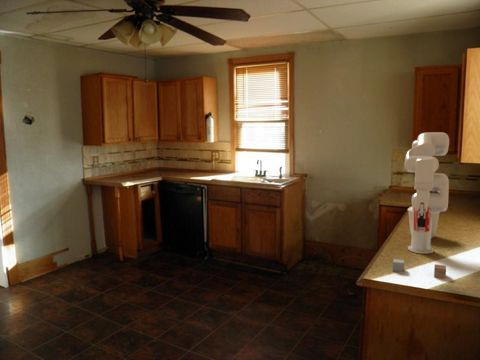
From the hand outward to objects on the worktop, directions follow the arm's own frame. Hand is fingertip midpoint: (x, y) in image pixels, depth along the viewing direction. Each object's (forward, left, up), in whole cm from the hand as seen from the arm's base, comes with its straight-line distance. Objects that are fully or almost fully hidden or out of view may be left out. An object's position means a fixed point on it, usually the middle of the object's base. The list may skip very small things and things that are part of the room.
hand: (421, 224), depth 182 cm
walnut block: (0, +9, -23) cm, 25 cm away
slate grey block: (0, -9, -23) cm, 25 cm away
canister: (-65, -1, -23) cm, 69 cm away
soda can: (0, 0, -3) cm, 3 cm away
